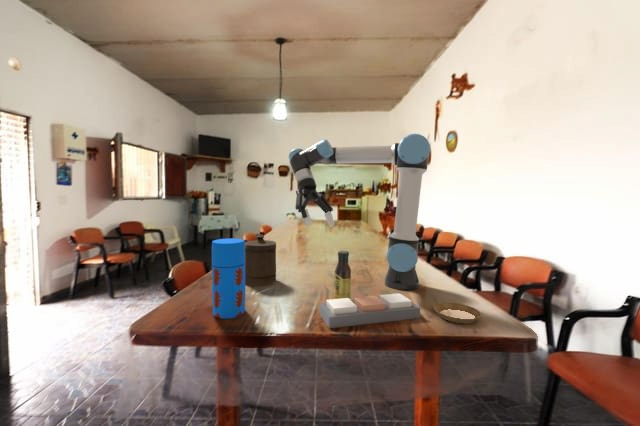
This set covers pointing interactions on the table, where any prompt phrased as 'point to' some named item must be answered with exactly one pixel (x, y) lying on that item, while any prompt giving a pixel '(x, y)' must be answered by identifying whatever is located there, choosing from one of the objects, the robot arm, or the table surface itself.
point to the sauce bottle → (342, 277)
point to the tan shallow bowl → (457, 306)
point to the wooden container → (260, 262)
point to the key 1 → (341, 306)
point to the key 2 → (395, 301)
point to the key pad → (367, 316)
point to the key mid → (369, 303)
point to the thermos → (228, 278)
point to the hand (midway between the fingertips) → (321, 225)
